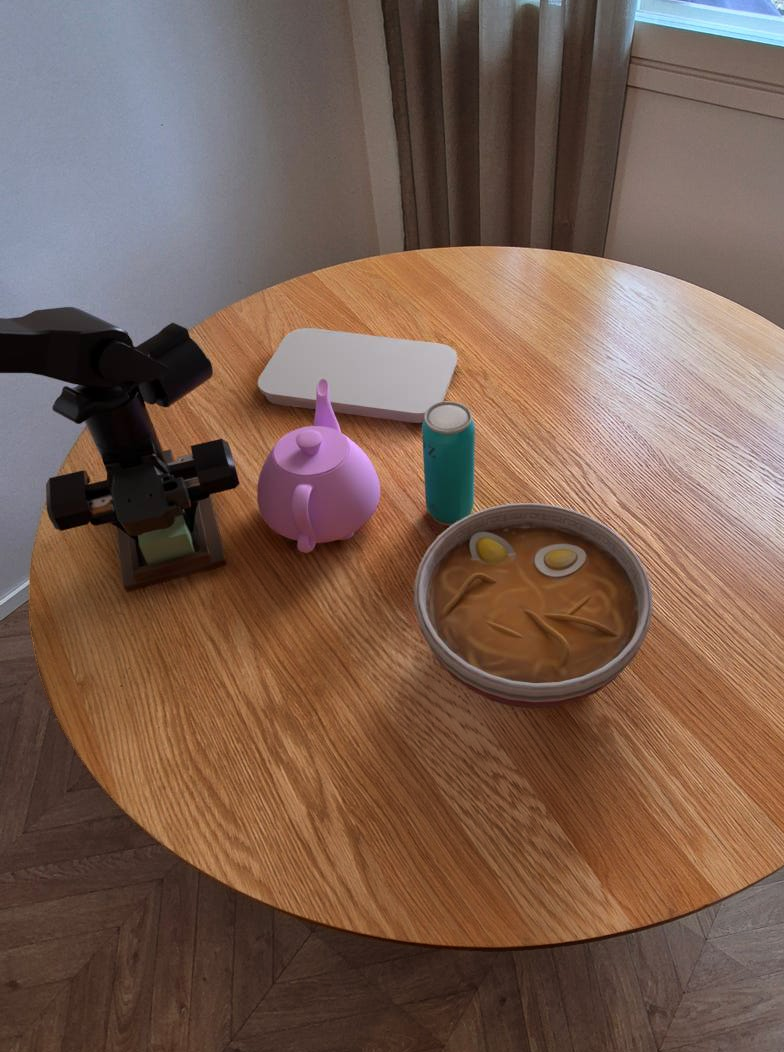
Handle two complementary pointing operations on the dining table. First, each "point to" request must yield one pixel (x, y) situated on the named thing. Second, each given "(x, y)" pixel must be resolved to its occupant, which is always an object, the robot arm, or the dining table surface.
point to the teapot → (317, 482)
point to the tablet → (359, 373)
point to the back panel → (203, 559)
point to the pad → (167, 542)
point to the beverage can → (448, 461)
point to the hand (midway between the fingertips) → (167, 535)
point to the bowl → (532, 604)
